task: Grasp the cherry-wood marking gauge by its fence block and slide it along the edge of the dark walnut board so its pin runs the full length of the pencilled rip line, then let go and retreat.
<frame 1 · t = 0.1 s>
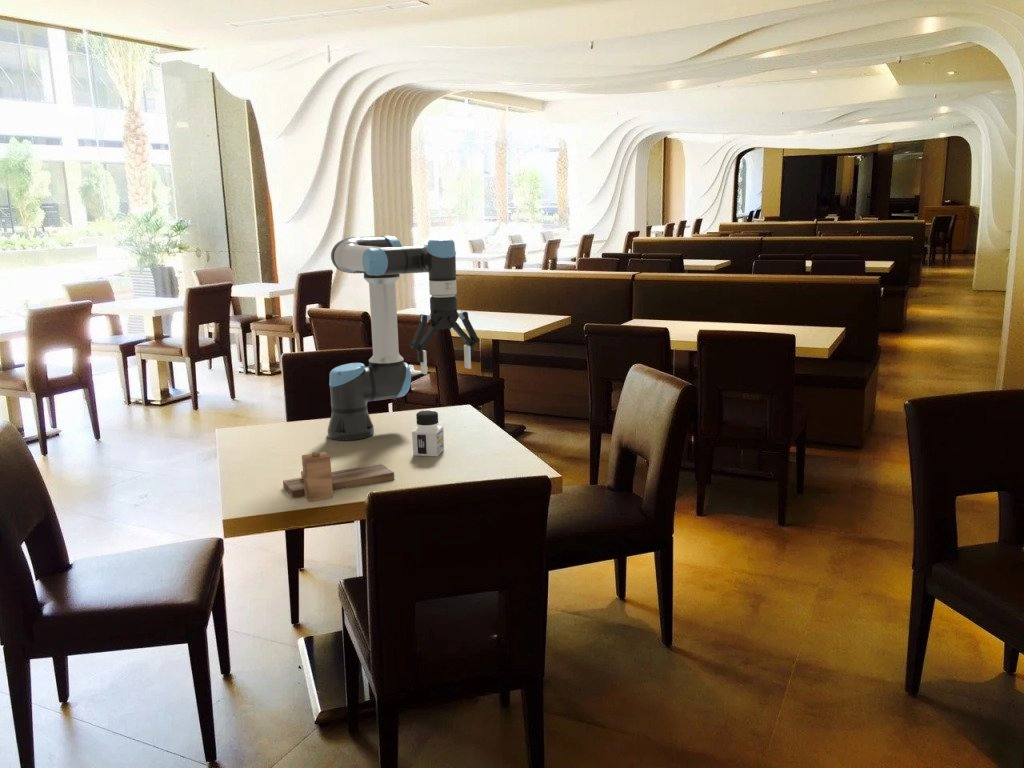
hand: (446, 370, 231), 28 cm above the table, fingers open, 13 cm apart
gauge: (312, 470, 216), point 6 cm above the table, slide at -8.0 cm
board: (339, 483, 224), on the table
container: (428, 453, 251), on the table
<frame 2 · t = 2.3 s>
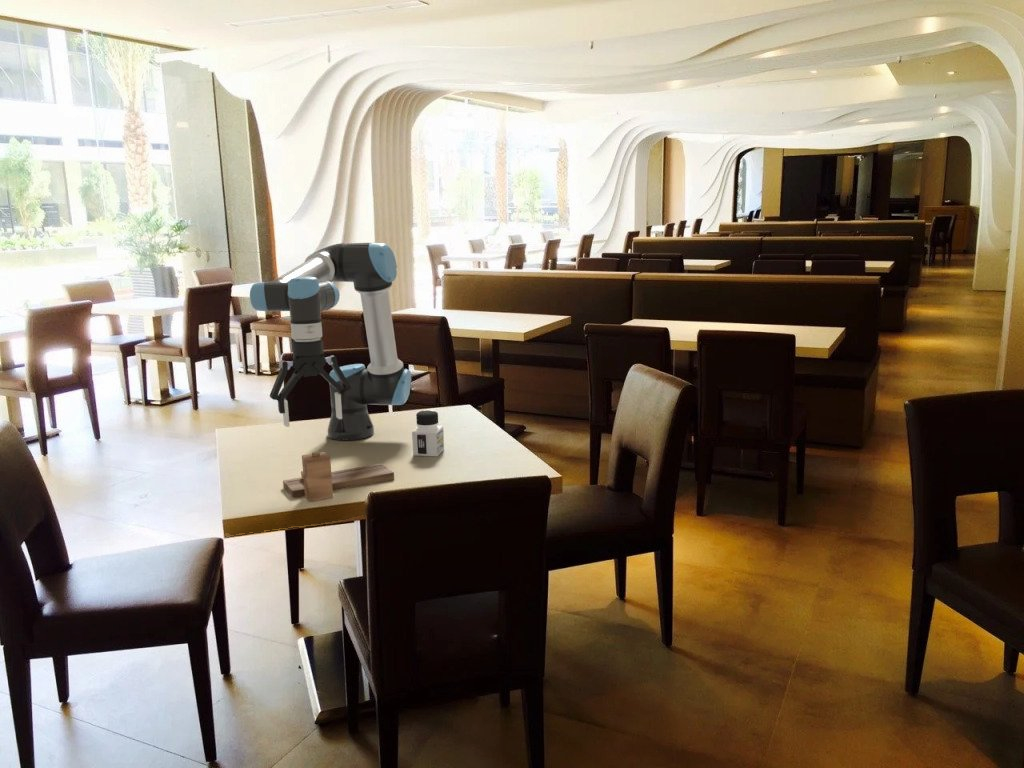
hand: (313, 421, 209), 20 cm above the table, fingers open, 13 cm apart
nothing on the table moved.
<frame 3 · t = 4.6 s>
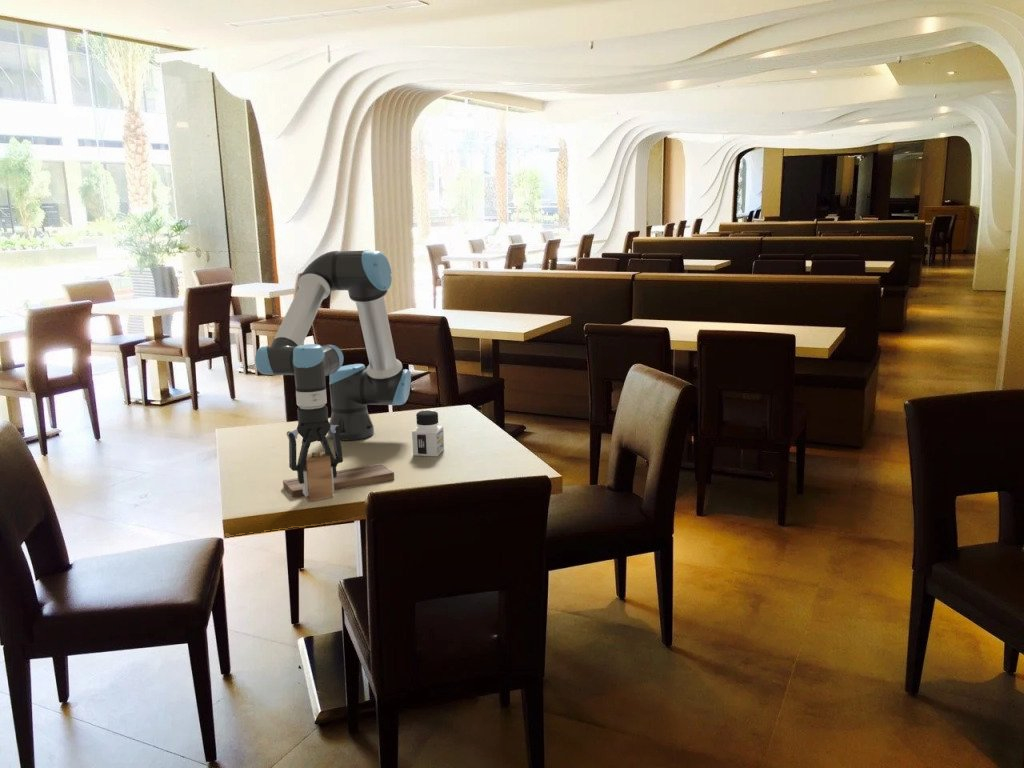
hand: (318, 492, 213), 1 cm above the table, fingers closed on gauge, 6 cm apart
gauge: (312, 470, 216), point 6 cm above the table, slide at -8.0 cm, touching gripper
everything else where it was.
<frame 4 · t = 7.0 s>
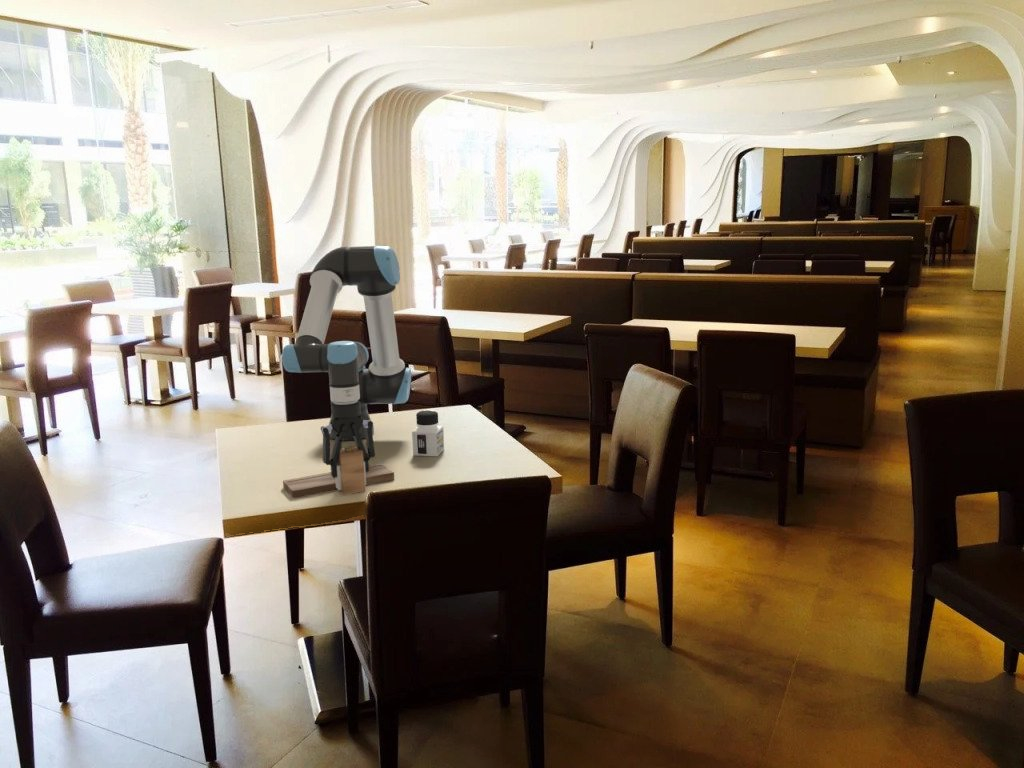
hand: (351, 485, 217), 1 cm above the table, fingers closed on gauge, 6 cm apart
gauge: (344, 464, 220), point 6 cm above the table, slide at 0.8 cm, touching gripper
everything else where it was.
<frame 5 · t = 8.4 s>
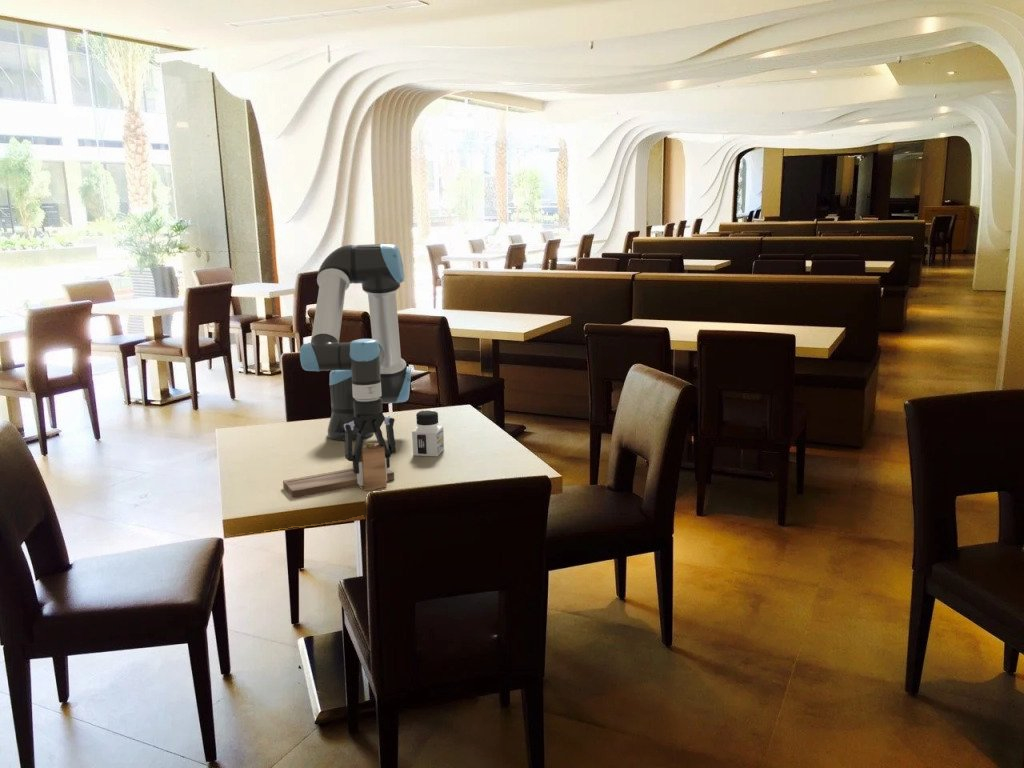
hand: (372, 482, 220), 1 cm above the table, fingers closed on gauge, 6 cm apart
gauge: (365, 460, 223), point 6 cm above the table, slide at 6.7 cm, touching gripper
everything else where it was.
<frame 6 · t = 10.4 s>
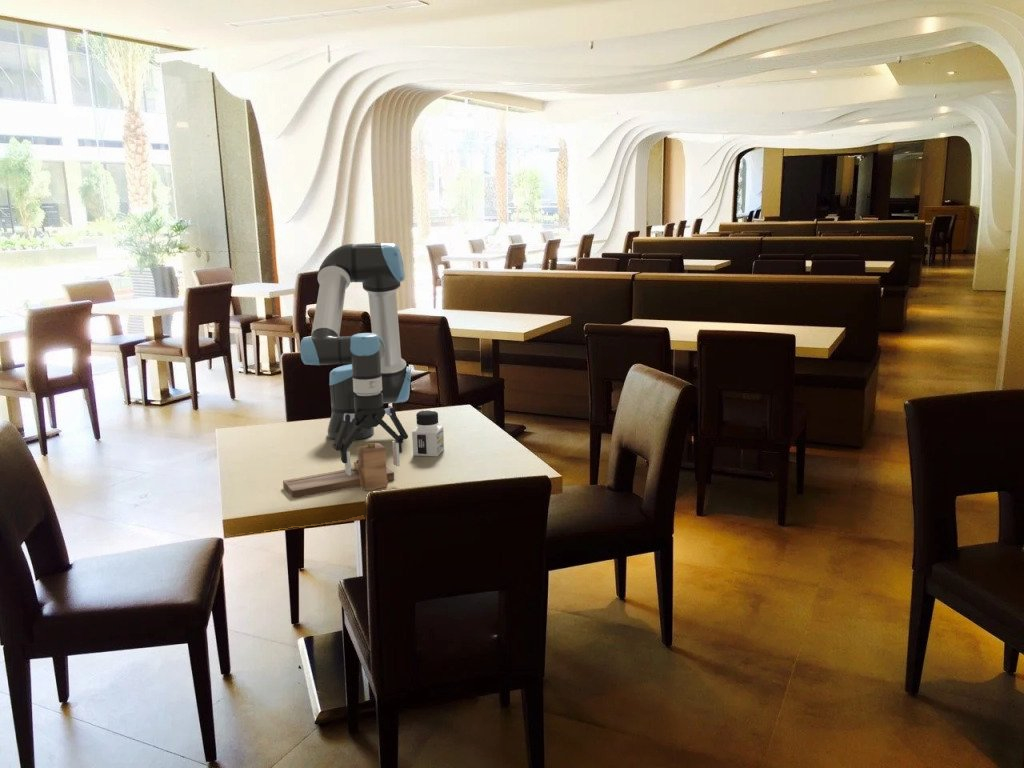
hand: (372, 469, 220), 5 cm above the table, fingers open, 13 cm apart
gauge: (366, 460, 223), point 6 cm above the table, slide at 7.0 cm
everything else where it was.
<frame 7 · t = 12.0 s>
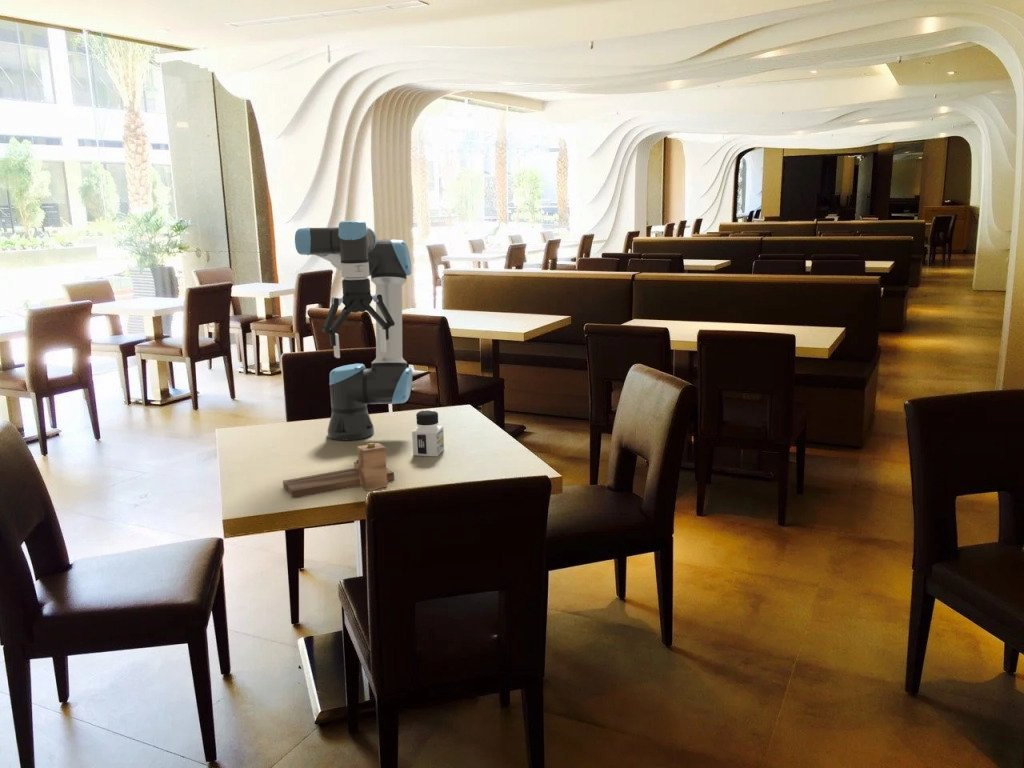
hand: (360, 354, 229), 33 cm above the table, fingers open, 13 cm apart
nothing on the table moved.
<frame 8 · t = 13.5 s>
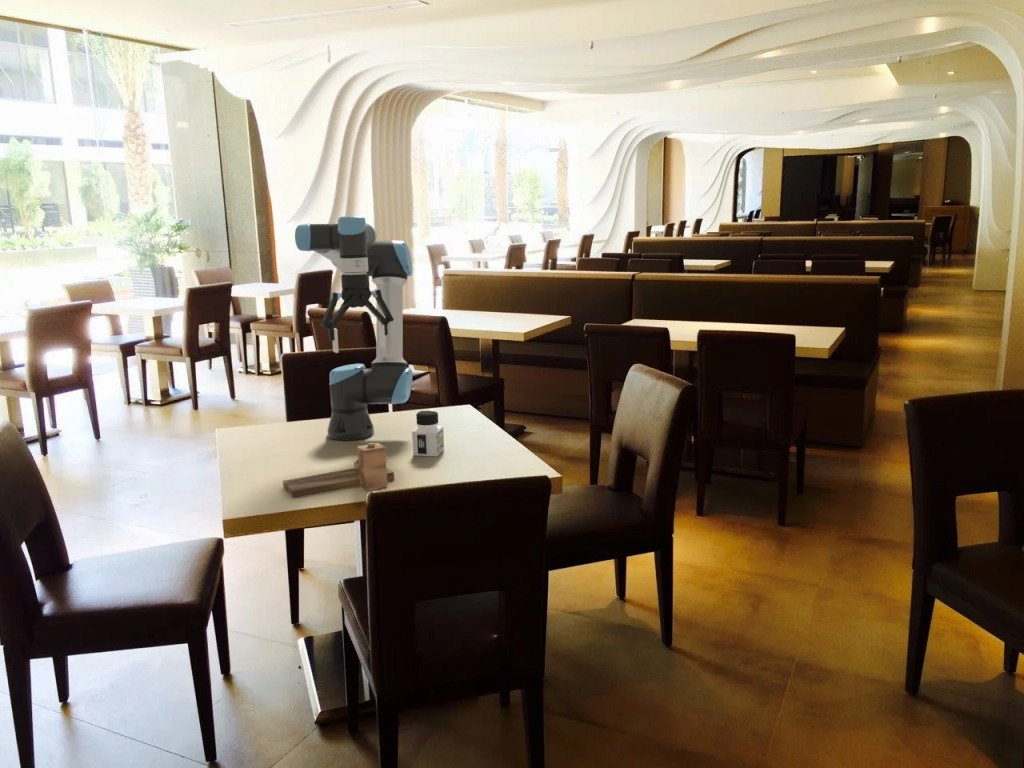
hand: (359, 349, 230), 35 cm above the table, fingers open, 13 cm apart
nothing on the table moved.
at the end: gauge slide at 7.0 cm; the gripper is holding nothing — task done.
